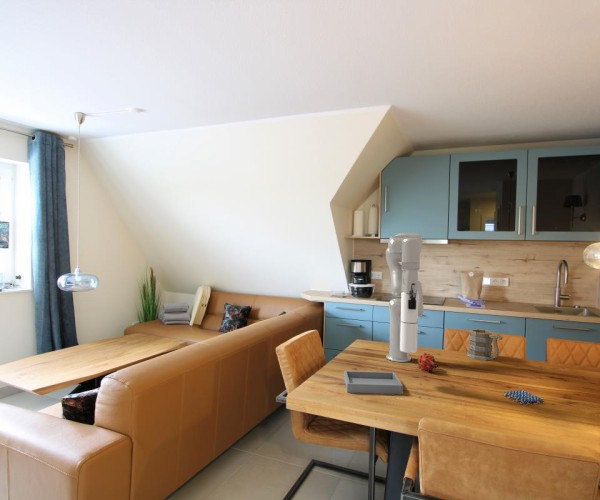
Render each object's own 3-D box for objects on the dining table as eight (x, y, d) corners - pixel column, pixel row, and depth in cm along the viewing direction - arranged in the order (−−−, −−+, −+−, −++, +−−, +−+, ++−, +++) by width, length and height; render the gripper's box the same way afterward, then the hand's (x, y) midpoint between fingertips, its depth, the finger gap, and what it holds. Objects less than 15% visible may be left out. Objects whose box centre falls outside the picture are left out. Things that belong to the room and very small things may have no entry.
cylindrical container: (398, 351, 165) (399, 293, 165) (402, 347, 172) (403, 291, 171) (415, 353, 162) (416, 294, 161) (418, 349, 168) (419, 292, 168)
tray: (344, 378, 170) (344, 370, 170) (394, 379, 169) (394, 372, 169) (347, 392, 154) (347, 383, 154) (402, 394, 153) (402, 385, 153)
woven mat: (524, 407, 144) (524, 402, 144) (502, 396, 154) (502, 391, 154) (546, 404, 147) (546, 399, 147) (522, 394, 157) (523, 389, 157)
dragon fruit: (423, 368, 190) (432, 380, 179) (410, 359, 189) (419, 370, 177) (434, 355, 190) (444, 367, 178) (421, 346, 188) (431, 356, 177)
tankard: (462, 354, 211) (463, 327, 211) (481, 352, 215) (481, 326, 215) (490, 365, 192) (491, 335, 192) (510, 363, 196) (511, 334, 196)
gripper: (397, 265, 175) (396, 304, 175) (406, 268, 157) (405, 311, 158) (413, 265, 175) (412, 304, 175) (425, 268, 157) (424, 311, 158)
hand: (409, 307), depth 166 cm, fingers closed on cylindrical container, 7 cm apart
